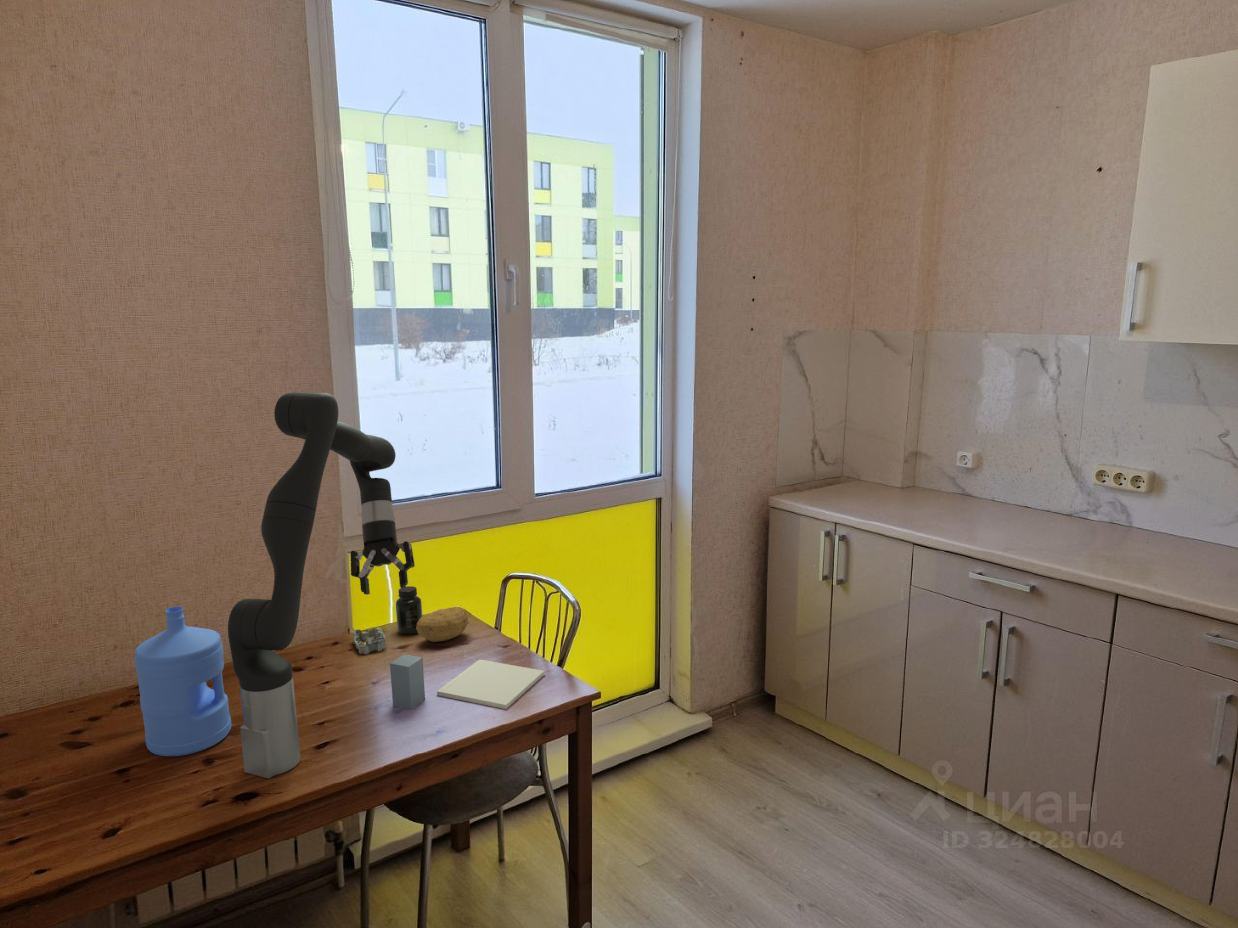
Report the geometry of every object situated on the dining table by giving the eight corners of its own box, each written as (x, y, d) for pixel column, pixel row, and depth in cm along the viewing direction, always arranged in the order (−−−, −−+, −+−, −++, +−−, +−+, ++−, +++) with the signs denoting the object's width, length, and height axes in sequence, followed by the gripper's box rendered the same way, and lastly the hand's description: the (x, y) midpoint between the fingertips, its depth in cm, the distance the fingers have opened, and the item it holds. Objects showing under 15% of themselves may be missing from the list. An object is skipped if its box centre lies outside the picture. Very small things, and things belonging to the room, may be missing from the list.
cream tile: (506, 709, 176) (506, 704, 175) (437, 695, 182) (437, 691, 182) (544, 674, 192) (544, 670, 192) (479, 663, 199) (479, 659, 198)
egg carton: (352, 641, 213) (350, 627, 213) (381, 636, 217) (379, 622, 216) (357, 656, 204) (356, 641, 203) (388, 651, 207) (386, 636, 206)
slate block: (411, 709, 176) (408, 666, 174) (392, 705, 178) (389, 663, 176) (425, 699, 181) (422, 657, 179) (406, 695, 183) (404, 654, 181)
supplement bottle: (426, 626, 223) (424, 584, 220) (418, 635, 216) (415, 593, 214) (402, 625, 223) (400, 584, 221) (393, 635, 217) (390, 592, 214)
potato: (410, 640, 213) (409, 611, 212) (459, 627, 221) (458, 600, 220) (425, 652, 205) (423, 623, 204) (475, 639, 213) (473, 610, 212)
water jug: (136, 764, 156) (117, 628, 151) (158, 724, 171) (142, 600, 166) (223, 751, 160) (208, 619, 155) (238, 714, 175) (224, 592, 170)
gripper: (342, 525, 185) (348, 594, 181) (403, 514, 185) (410, 583, 181) (354, 530, 192) (360, 597, 188) (413, 520, 192) (420, 587, 188)
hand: (385, 590), depth 184 cm, fingers open, 8 cm apart
